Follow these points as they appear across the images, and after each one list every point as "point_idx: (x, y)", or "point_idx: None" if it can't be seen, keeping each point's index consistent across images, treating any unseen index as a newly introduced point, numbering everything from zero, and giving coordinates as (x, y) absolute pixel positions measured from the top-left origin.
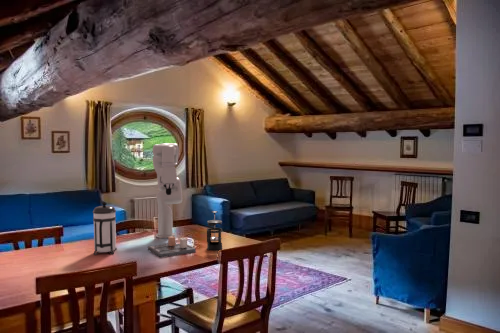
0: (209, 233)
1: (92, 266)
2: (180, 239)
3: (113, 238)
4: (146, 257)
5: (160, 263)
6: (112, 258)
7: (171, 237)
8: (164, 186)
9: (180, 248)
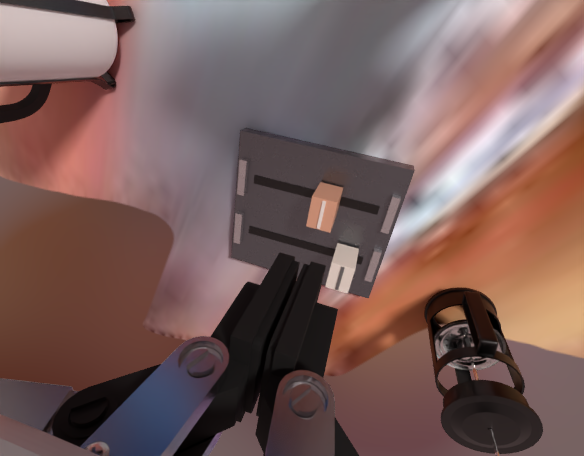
0: (434, 366)
1: (50, 177)
2: (330, 267)
3: (62, 75)
4: (203, 215)
5: (213, 292)
6: (106, 140)
7: (315, 220)
8: (130, 391)
9: (328, 255)
